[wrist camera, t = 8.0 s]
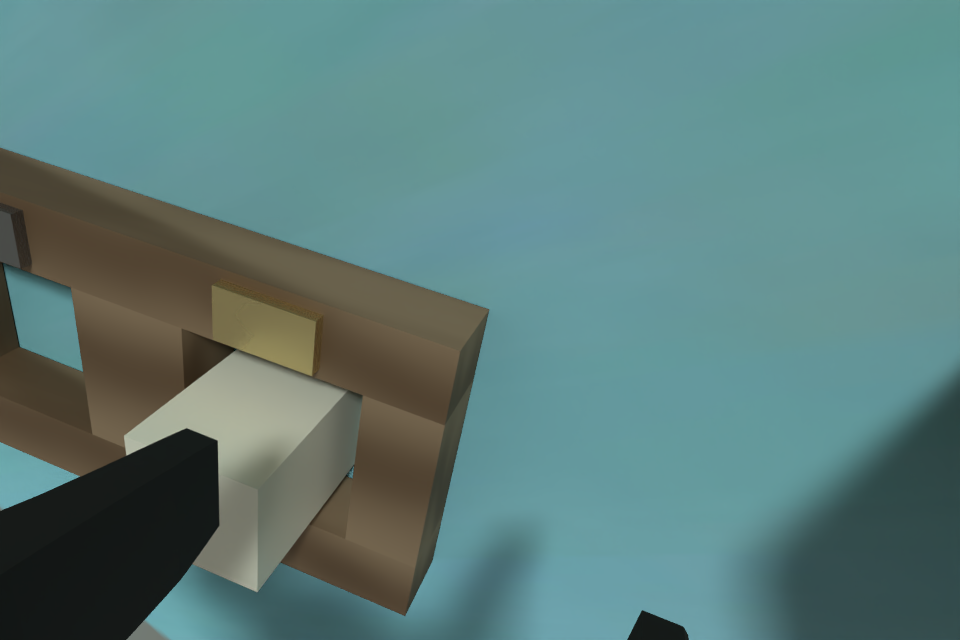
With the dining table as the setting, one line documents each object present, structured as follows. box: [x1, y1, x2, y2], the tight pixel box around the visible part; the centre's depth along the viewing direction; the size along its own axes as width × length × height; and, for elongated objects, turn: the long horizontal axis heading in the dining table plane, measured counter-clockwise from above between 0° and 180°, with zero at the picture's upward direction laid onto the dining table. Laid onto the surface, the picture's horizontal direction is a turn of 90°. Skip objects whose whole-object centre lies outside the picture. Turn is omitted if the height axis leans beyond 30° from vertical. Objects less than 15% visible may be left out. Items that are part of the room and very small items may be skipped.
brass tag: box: [212, 280, 324, 376], centre depth 18 cm, size 2×3×1 cm, turn 79°
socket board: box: [0, 148, 489, 616], centre depth 23 cm, size 11×21×2 cm, turn 79°
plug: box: [124, 349, 363, 592], centre depth 20 cm, size 4×4×6 cm
